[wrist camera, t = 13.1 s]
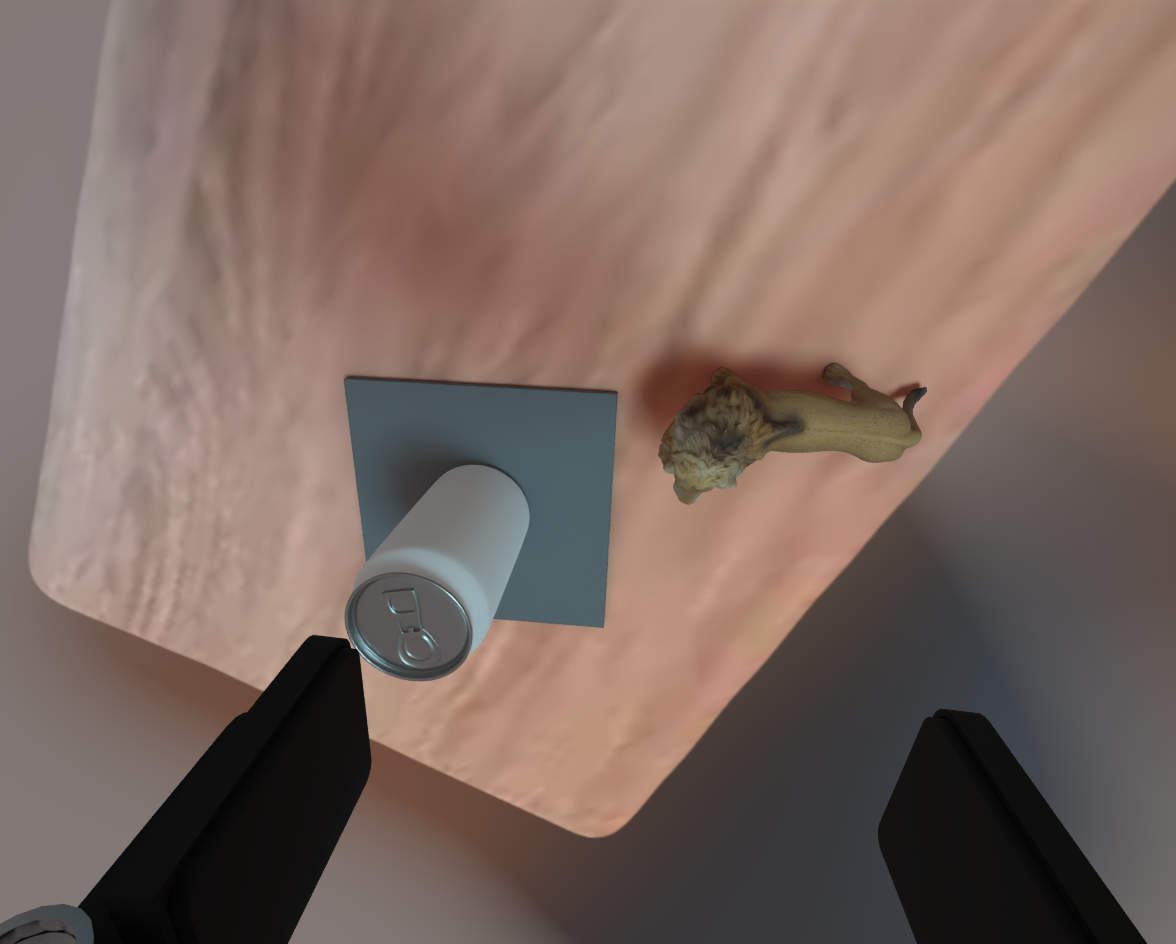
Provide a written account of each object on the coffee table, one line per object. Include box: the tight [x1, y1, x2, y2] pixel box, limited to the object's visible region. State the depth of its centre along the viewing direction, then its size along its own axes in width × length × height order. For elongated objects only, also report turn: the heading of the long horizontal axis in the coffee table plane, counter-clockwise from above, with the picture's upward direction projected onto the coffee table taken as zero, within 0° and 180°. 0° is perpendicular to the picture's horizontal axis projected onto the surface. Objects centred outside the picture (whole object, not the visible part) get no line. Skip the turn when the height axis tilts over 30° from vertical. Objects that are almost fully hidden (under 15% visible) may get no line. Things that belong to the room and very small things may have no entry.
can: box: [345, 465, 530, 681], centre depth 30 cm, size 6×6×12 cm
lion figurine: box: [658, 364, 927, 505], centre depth 28 cm, size 15×5×9 cm, turn 99°
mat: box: [344, 377, 618, 628], centre depth 36 cm, size 16×16×1 cm
